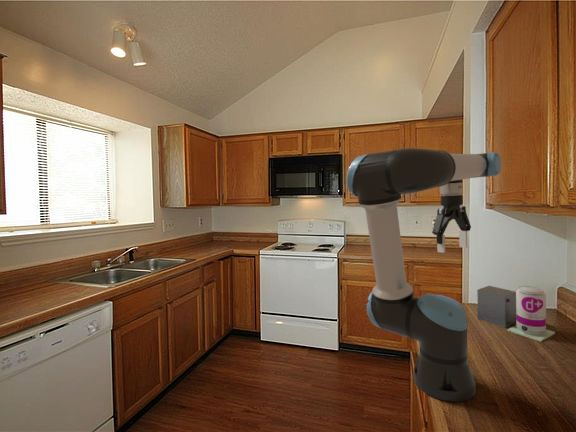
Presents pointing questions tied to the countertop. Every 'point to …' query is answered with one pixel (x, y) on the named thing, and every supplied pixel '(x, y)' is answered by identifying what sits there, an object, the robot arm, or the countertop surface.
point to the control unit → (497, 305)
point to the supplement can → (531, 310)
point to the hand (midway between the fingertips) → (452, 249)
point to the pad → (535, 337)
